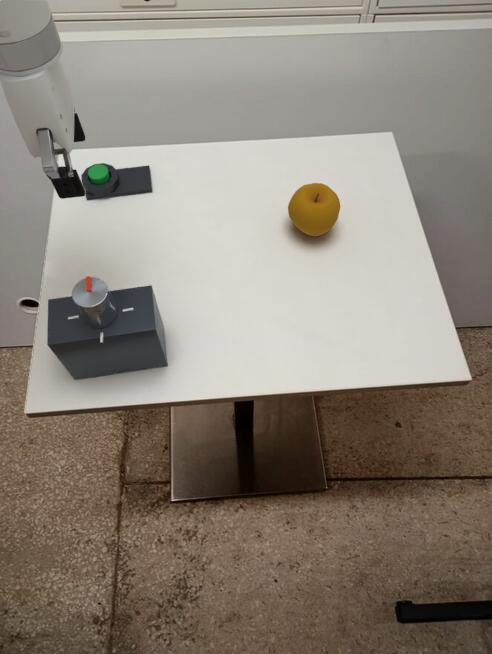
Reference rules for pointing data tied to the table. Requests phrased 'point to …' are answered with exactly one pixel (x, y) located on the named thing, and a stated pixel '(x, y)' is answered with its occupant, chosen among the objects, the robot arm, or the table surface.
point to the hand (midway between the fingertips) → (73, 167)
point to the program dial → (94, 302)
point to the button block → (119, 182)
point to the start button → (98, 174)
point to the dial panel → (108, 336)
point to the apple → (314, 209)
